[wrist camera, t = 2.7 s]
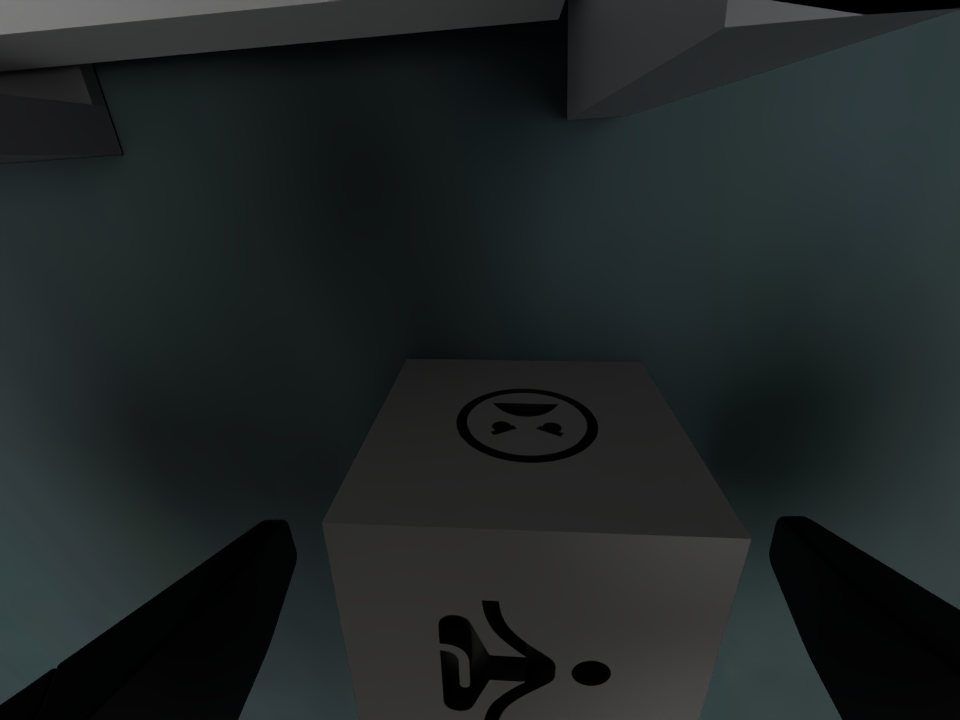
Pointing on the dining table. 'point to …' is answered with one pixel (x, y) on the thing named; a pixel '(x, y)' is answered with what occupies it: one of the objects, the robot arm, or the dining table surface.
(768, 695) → the dining table surface
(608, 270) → the dining table surface
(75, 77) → the housing
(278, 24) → the tray
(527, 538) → the dice cube
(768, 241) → the dining table surface
